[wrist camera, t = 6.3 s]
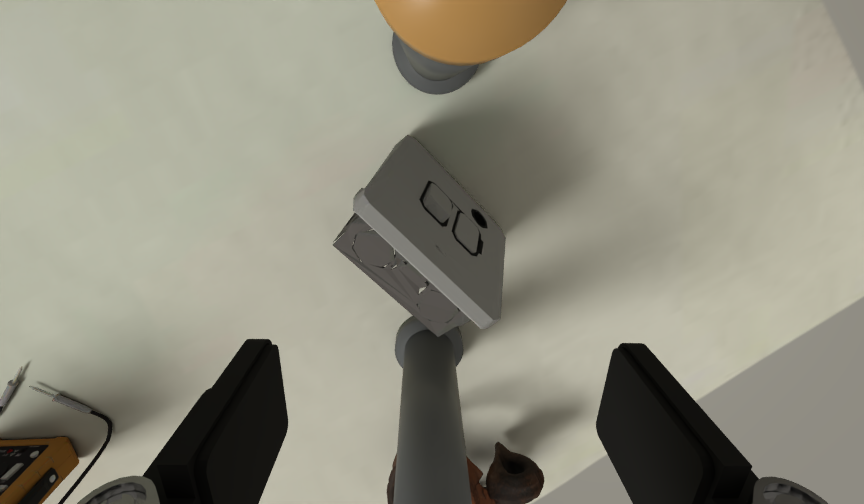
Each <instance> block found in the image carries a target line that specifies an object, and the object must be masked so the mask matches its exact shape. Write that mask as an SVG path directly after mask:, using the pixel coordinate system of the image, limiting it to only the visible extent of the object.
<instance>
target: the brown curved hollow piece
mask: <svg viewBox="0 0 864 504" xmlns="http://www.w3.org/2000/svg"><path fill="white" fill-rule="evenodd" d="M466 458H467V466H468V475H469V483H470V492H471V500H472V504H526V503H529V502H530V501H532V500H533V499H534V498H537V497H538V496H539V495H540V493H541V490H542V488H543V484H544V476H543V472H542V470H541V469H539V467H538V466H537V464H536V463H535V462H534V461H532V460H531V459H530V458H528V457H526V456H524V455H521V454H517V453H513V452H510V451H509V450H508V449H507V448H505V447H504V446H503V445H502V444H501V443H499V442H497V443H496V444H495V458H494V461H493V463H492V464H491V466H490V468H489V471H488V473H487V478H486V487H482V485H481V484H480V483H479V480H480V478H481V477H482V475H483V473H482V471H481V470H480V469H479V468H478V467H477V466H476V465H475V464H474V463H472V462H471V461H470V459H469V458H468V457H467V456H466ZM396 460H397V454H396V456H395V459H394V462H393V469H392V471H391V474H390V477H389V483H388V486H387V498H388V504H393V501H394V487H395V474H396Z"/></svg>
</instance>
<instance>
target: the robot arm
mask: <svg viewBox="0 0 864 504" xmlns="http://www.w3.org/2000/svg"><path fill="white" fill-rule="evenodd" d="M287 429H288V416H287V409H286V401H285V394H284V387H283V379H282V372H281V364H280V357H279V350H278V346H277V345H272V342H271V341H270V340H269V339H247V340H246V341H245V342H244V344H243V345H242V346H241V348H240V349H239V351H238V352H237V353H236V355H235V356H234V358H233V359H232V360H231V362H230V363H229V365H228V366H227V367H226V369H225V370H224V372H223V373H222V374H221V376H220V377H219V379H218V380H217V381H216V383H215V384H214V385H213V387H212V388H210V389H208V390H206V391H205V392H204V393H203V394H202V396H201V397H200V398H199V400H198V401H197V402H196V404H195V405H194V406H193V408H192V409H191V411H190V412H189V413H188V415H187V416H186V417H185V419H184V420H183V421H182V423H181V424H180V426H179V427H178V428H177V430H176V431H175V432H174V434H173V435H172V436H171V438H170V439H169V441H168V442H167V443H166V445H165V446H164V447H163V449H162V450H161V451H160V453H159V454H158V456H157V457H156V458H155V460H154V461H153V462H152V464H151V465H150V466H149V468H148V469H147V471H146V472H145V473H144V475H143V476H128V477H123V478H119V479H116V480H113V481H111V482H108V483H106V484H104V485H102V486H100V487H99V488H97V489H95V490H93V491H92V492H91V493H89V494H88V495H87V496H85V497H84V498H83V499H81V500H80V501H79V502H78V503H77V504H258V503H259V501H260V498H261V496H262V493H263V491H264V488H265V486H266V483H267V481H268V478H269V476H270V473H271V471H272V468H273V466H274V463H275V461H276V458H277V456H278V453H279V451H280V448H281V446H282V443H283V441H284V438H285V436H286V433H287ZM596 429H597V433H598V436H599V438H600V440H601V442H602V444H603V446H604V448H605V450H606V452H607V454H608V456H609V458H610V460H611V462H612V463H613V465H614V467H615V469H616V471H617V473H618V475H619V477H620V479H621V481H622V483H623V485H624V487H625V489H626V491H627V493H628V495H629V497H630V499H631V501H632V502H633V504H828V503H827V502H826V501H825V500H823V499H822V498H821V497H819V496H818V495H816V494H815V493H814V492H812V491H810V490H809V489H807V488H805V487H803V486H801V485H799V484H797V483H794V482H792V481H789V480H786V479H782V478H777V477H763V478H761V479H758V477H757V476H756V475H755V474H754V473H753V472H752V471H751V468H752V465H751V464H750V463H749V462H748V461H747V460H746V458H745V457H744V456H743V455H742V454H741V453H740V452H739V451H738V450H737V448H736V447H735V446H734V445H733V444H732V443H731V442H730V440H729V439H728V438H727V437H726V436H725V435H724V434H723V432H722V431H721V430H720V429H719V428H718V427H717V426H716V425H715V423H714V422H713V421H712V420H711V419H710V418H709V417H708V416H707V414H706V413H705V412H704V411H703V410H702V409H701V407H700V406H699V405H698V404H697V403H696V402H695V401H694V400H693V398H692V397H691V396H690V395H689V394H688V393H687V392H686V390H685V389H684V388H683V387H682V386H681V385H680V384H679V382H678V381H677V380H676V379H675V378H674V377H673V376H672V375H671V373H670V372H669V371H668V370H667V369H666V368H665V367H664V365H663V364H662V363H661V362H660V361H659V360H658V359H657V358H656V356H655V355H654V354H653V353H652V352H651V351H650V350H649V348H648V347H647V346H646V345H644V344H642V343H622V344H620V345H619V347H618V348H616V349H614V350H613V352H612V356H611V360H610V364H609V369H608V373H607V378H606V382H605V386H604V391H603V395H602V399H601V404H600V408H599V412H598V417H597V421H596Z"/></svg>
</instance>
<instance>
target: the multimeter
mask: <svg viewBox="0 0 864 504" xmlns="http://www.w3.org/2000/svg"><path fill="white" fill-rule="evenodd" d="M21 371H22V367H21V368H20V369H19V370H18V372H17V374H16V375H15V377H14V379H13V380H10V381H9V382H8V386H7V388H6V389H5V391H4V393H3V395H2V397H1V399H0V412H1V411H2V408H3V406H4V405H5V404H6V403H7V402H8V400H9V398H10V397H11V395H12V393H13V391H14V389H15V387H16V386H17V385H18V384H19V382H18V381H17V379H18V377H19V375H20V373H21ZM29 387H30V388H32V389H33V390H36V391H38V392H41V393H43V394H45V395H48V396H50V397H53V400H52V401H56V402H59V403H61V404H64V405H66V406H69V407H71V408H73V409H76V410H78V411H81V412H84V413H88V414H89V413H91V414H93V415H96V416H98V417H100V418H102V419H104V420H105V421H106V422H107V424H108V435H107V438H106V441H105V443H104V444H103V446H102V448H101V449H100V451H99V452H98V454H97V455H96V456H95V458H94V459H93V460H92V462H91V463H90V464H89V466H88V467H87V468H86V470H85V471H84V472H83V473H82V475H81V476H80V477H79V478H78V480H77V481H76V482H75V484H74V485H73V486H72V487H71V488H70V490H69V491H68V492H67V493H66V495H65V496H64V497H63V498H62V499H61V501H60V502H59V503H58V504H63V503H64V502H65V500H66V499H67V498H68V497H69V495H70V494H71V493H72V492H73V490H74V489H75V488H76V487H77V486H78V484H79V483H80V482H81V480H82V479H83V478H84V477H85V475H86V474H87V473H88V471H89V470H90V469H91V467H92V466H93V465H94V463H95V462H96V461H97V459H98V458H99V457H100V455H101V454H102V452H103V451H104V449H105V448H106V446H107V444H108V443H109V441H110V438H111V434H112V423H111V421H110V420H109V418H107V417H106V416H104V415H102V414H100V413H98V412H95V411H93V410H92V409H91V408H89V407H87V406H85V405H83V404H81V403H78V402H76V401H73V400H71V399H68V398H66V397H64V396H61V395H60V394H57V395H53V394H51V393H48V392H46V391H44V390H41V389H39V388H36V387H32V386H29ZM78 464H79V459H78V457H77V455H76V453H75V451H74V449H73V447H72V444H71V442H70V440H69V438H68V437H57V438H54V439H28V440H2V439H0V504H42V503H43V502H44V501H45V500H46V499H47V498H48V496H49V495H50V494H51V493H52V492H53V491H54V490H55V489H56V488H57V487H58V486H59V484H60V483H61V482H62V481H63V480H64V479H65V478H66V477H67V476H68V475H69V474H70V472H71V471H72V470H73V469H74V468H75V467H76V466H77V465H78Z"/></svg>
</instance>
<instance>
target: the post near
mask: <svg viewBox="0 0 864 504" xmlns="http://www.w3.org/2000/svg"><path fill="white" fill-rule="evenodd" d="M566 1H567V0H375V2H376V4H377V6H378V8H379V10H380V12H381V13H382V15H383V17H384V18H385V20H386V22H387V23H388V25H389V26H390V27H391V29H392V30H393V31H394V33H393V41H392V46H393V55H394V59H395V62H396V65H397V67H398V69H399V71H400V73H401V74H402V76H403V77H404V78H405V79H406V80H407V81H408V82H409V83H410V84H411V85H412V86H413V87H415V88H417V89H418V90H420V91H423V92H425V93H429V94H446V93H450V92H453V91H455V90H457V89H459V88H460V87H462V86H463V85H465V84H466V83H467V82H468V81H469V80H470V79H471V78H472V76H473V75H474V73H475V72H476V70H477V68H478V66H479V64H482V63H485V62H488V61H491V60H494V59H497V58H499V57H501V56H503V55H505V54H507V53H509V52H511V51H513V50H515V49H517V48H519V47H521V46H523V45H524V44H526V43H527V42H529V41H530V40H532V39H533V38H534V37H536V36H537V35H538V34H539V33H540V32H541V31H542V30H544V29H545V28H546V27H547V26H548V24H549V23H550V22H551V21H552V20H553V19H554V18H555V17H556V16H557V14H558V13H559V11H560V10H561V9H562V7H563V6H564V4H565V3H566Z"/></svg>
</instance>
